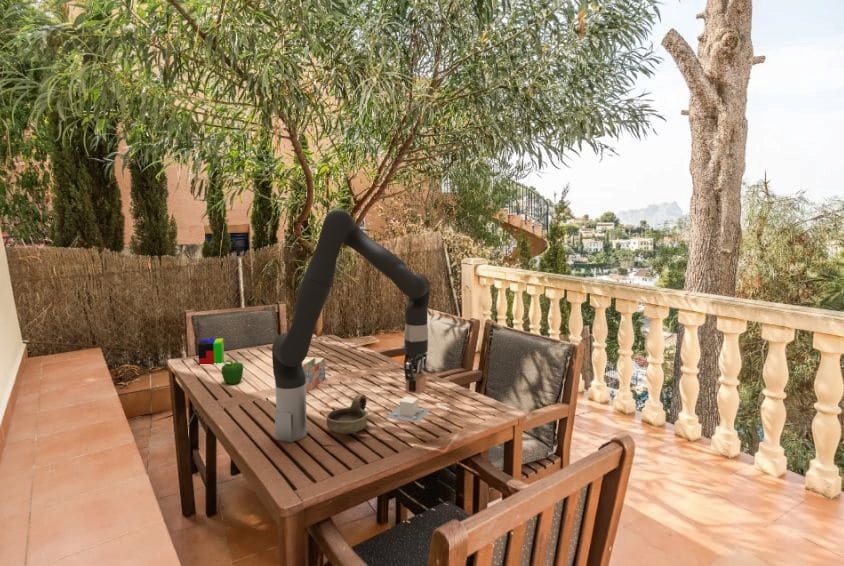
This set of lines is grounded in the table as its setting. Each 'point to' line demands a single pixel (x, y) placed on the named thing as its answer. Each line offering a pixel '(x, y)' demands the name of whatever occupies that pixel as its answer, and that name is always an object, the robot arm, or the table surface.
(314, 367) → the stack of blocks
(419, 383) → the rust cube
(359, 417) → the bowl
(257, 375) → the table surface
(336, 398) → the table surface
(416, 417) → the plate
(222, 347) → the puzzle toy
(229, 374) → the bell pepper
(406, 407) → the base cube
